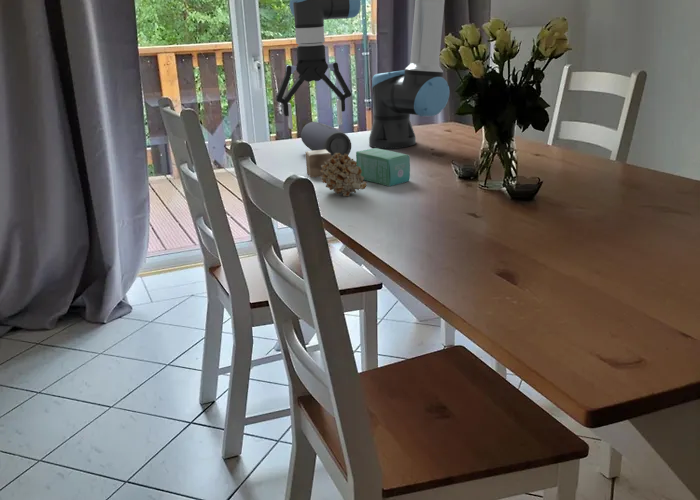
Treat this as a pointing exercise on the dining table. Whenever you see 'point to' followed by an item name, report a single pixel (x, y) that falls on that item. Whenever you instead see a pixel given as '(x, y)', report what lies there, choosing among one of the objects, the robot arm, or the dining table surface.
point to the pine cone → (342, 174)
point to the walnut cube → (316, 161)
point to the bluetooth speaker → (325, 138)
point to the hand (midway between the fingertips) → (315, 126)
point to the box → (384, 166)
